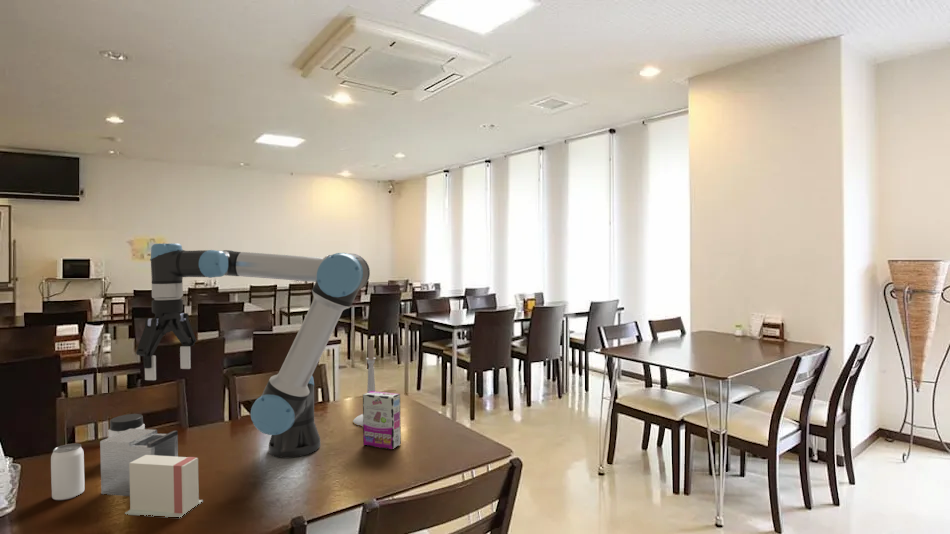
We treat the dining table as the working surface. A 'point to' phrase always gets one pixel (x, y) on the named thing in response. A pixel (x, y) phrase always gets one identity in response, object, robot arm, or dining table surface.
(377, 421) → the candy bar box
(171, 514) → the pad
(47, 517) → the dining table surface
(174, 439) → the dispenser
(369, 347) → the candlestick
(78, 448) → the can
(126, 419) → the jar
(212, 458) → the dining table surface
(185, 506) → the pink-banded white block
